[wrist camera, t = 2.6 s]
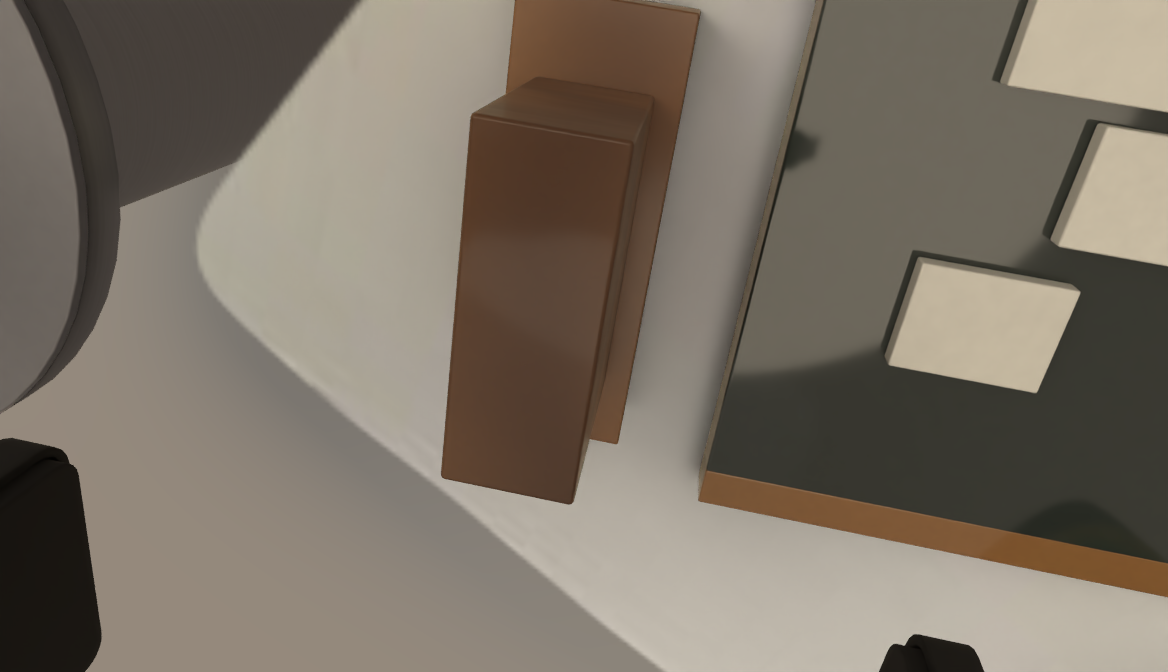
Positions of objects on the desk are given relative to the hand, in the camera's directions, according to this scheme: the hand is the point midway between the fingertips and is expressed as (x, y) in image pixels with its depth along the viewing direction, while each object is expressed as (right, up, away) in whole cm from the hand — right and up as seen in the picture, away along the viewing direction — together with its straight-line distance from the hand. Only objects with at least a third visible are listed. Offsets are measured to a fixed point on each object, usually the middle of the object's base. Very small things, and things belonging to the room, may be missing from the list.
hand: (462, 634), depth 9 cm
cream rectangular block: (+12, +4, +12) cm, 18 cm away
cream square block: (+13, +10, +9) cm, 19 cm away
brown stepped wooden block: (+1, +7, +14) cm, 16 cm away
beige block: (+15, +7, +11) cm, 20 cm away
